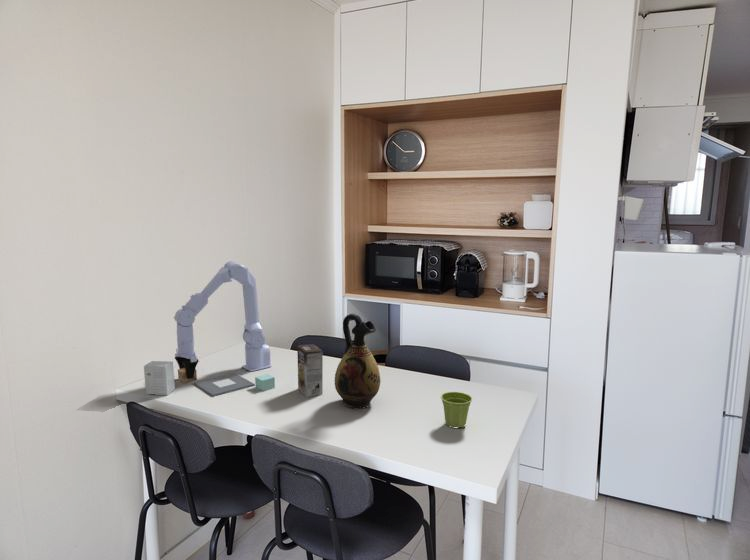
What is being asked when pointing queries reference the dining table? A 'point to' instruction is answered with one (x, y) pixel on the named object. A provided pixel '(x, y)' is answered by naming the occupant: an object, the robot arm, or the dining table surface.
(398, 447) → the dining table surface
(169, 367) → the small box
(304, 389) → the coffee box
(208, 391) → the baseplate
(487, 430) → the dining table surface
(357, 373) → the ceramic jug
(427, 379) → the dining table surface
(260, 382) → the brick teal
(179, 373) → the brick walnut
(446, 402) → the plant pot
